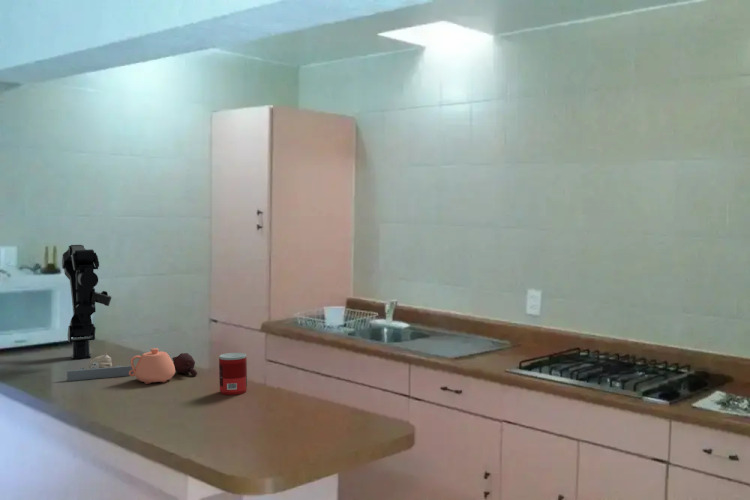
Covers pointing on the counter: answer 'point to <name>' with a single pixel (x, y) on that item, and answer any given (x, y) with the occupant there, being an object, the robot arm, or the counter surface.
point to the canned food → (233, 373)
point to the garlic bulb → (100, 362)
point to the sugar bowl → (153, 367)
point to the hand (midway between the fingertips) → (86, 330)
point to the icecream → (184, 364)
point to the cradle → (98, 373)
